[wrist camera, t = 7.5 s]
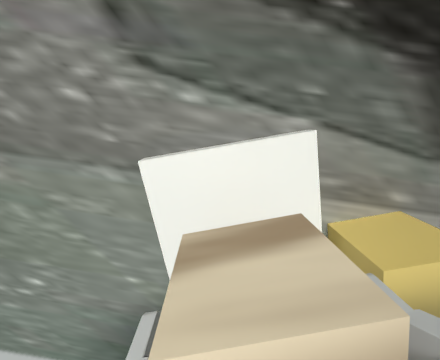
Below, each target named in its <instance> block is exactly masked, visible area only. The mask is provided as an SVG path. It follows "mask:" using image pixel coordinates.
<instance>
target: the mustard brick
mask: <svg viewBox="0 0 440 360" xmlns="http://www.w3.org/2000/svg"><path fill="white" fill-rule="evenodd" d="M328 239H329V240H330V241H331V242H332V243H333V244H334V245H335V246H336V247H337V248H338V249H339V250H341V251H342V252H343V253H344V254H345V255H346V256H347V257H348V258H349V259H350V260H351V261H352V262H353V263H354V264H355V265H356V266H357V267H358V268H360V269H361V270H362V271H363V272H364V273H365V274H367V273H372V274H374V275H375V276H376V277H377V278H378V279H380V280H381V281H382V282H383V283H384V284H385V285H386V286H387V287H389V288H390V289H391V290H392V291H393V292H394V293H395V294H396V295H398V296H399V297H400V298H401V299H402V300H403V301H404V302H405V303H407V304H408V305H409V306H410V307H411V308H412V309H413V310H416V309H420V310H422V311H424V312H427V313H429V314H431V315H434V316H436V317H438V318H440V229H438V228H436V227H434V226H431V225H429V224H427V223H425V222H423V221H420V220H418V219H416V218H414V217H412V216H409V215H407V214H405V213H403V212H401V211H399V212H393V213H387V214H381V215H375V216H369V217H364V218H358V219H352V220H346V221H340V222H335V223H329V224H328Z"/></svg>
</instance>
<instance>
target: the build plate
mask: <svg viewBox="0 0 440 360" xmlns="http://www.w3.org/2000/svg"><path fill="white" fill-rule="evenodd" d="M138 164H139V168H140V171H141V175H142V179H143V182H144V186H145V190H146V194H147V197H148V201H149V205H150V208H151V212H152V216H153V220H154V223H155V227H156V231H157V234H158V238H159V242H160V245H161V249H162V253H163V257H164V260H165V264H166V268H167V271H168V275H169V279H170V278H171V275H172V271H173V268H174V264H175V260H176V257H177V253H178V250H179V246H180V242H181V239H182V235H183V234H188V233H194V232H199V231H205V230H210V229H216V228H221V227H227V226H233V225H238V224H244V223H249V222H255V221H260V220H266V219H272V218H277V217H283V216H288V215H294V214H299V213H301V214H303V215H304V216H305V217H306V218H307V219H308V220H309V221H310V222H311V223H312V224H313V225H314V226H315V227H316V228H317V229H318V230H319V231H320V232H322V223H321V204H320V186H319V167H318V149H317V130H303V131H297V132H291V133H286V134H280V135H274V136H269V137H263V138H257V139H251V140H246V141H240V142H234V143H228V144H223V145H217V146H211V147H206V148H200V149H194V150H188V151H183V152H177V153H171V154H165V155H160V156H154V157H148V158H144V159H142V160H140V161H138Z"/></svg>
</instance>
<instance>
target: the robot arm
mask: <svg viewBox="0 0 440 360" xmlns="http://www.w3.org/2000/svg"><path fill="white" fill-rule="evenodd" d="M366 275H367V276H368V277H369V278H370V279H371V280H372V281H373V282H374V283H375V284H376V285H377V286H379V287H380V288H381V289H382V290H383V291H384V292H385V293H386V294H387V295H388V296H389V297H390V298H391V299H392V300H393V301H394V302H395V303H396V304H398V305H399V306H400V307H401V308H402V309H403V310H404V311H405V312H406V313H407V314H408V315H409V316H410V327H409V349H408V360H440V318H438V317H436V316H434V315H431V314H429V313H427V312H424V311H422V310H420V309H416V310H413V309H412V308H411V307H410V306H409V305H408V304H407V303H405V302H404V301H403V300H402V299H401V298H400V297H399V296H398V295H396V294H395V293H394V292H393V291H392V290H391V289H390V288H389V287H387V286H386V285H385V284H384V283H383V282H382V281H381V280H380V279H378V278H377V277H376V276H375V275H374V274H372V273H367V274H366ZM161 311H162V310H159V311H153V312H146V313H144V314H143V316H142V317H141V320H140V322H139V325H138V328H137V330H136V333H135V336H134V338H133V341H132V344H131V346H130V349H129V352H128V354H127V357H126V360H148V358H149V354H150V351H151V347H152V344H153V340H154V336H155V333H156V329H157V326H158V322H159V318H160V315H161Z"/></svg>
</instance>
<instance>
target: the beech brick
mask: <svg viewBox="0 0 440 360" xmlns="http://www.w3.org/2000/svg"><path fill="white" fill-rule="evenodd" d="M409 327H410V316H409V315H408V314H407V313H406V312H405V311H404V310H403V309H402V308H401V307H400V306H399V305H398V304H396V303H395V302H394V301H393V300H392V299H391V298H390V297H389V296H388V295H387V294H386V293H385V292H384V291H383V290H382V289H381V288H380V287H379V286H377V285H376V284H375V283H374V282H373V281H372V280H371V279H370V278H369V277H368V276H367V275H366V274H365V273H364V272H363V271H362V270H361V269H360V268H358V267H357V266H356V265H355V264H354V263H353V262H352V261H351V260H350V259H349V258H348V257H347V256H346V255H345V254H344V253H343V252H342V251H341V250H339V249H338V248H337V247H336V246H335V245H334V244H333V243H332V242H331V241H330V240H329V239H328V238H327V237H326V236H325V235H324V234H323V233H322V232H320V231H319V230H318V229H317V228H316V227H315V226H314V225H313V224H312V223H311V222H310V221H309V220H308V219H307V218H306V217H305V216H304V215H303V214H301V213H299V214H294V215H288V216H283V217H277V218H272V219H266V220H260V221H255V222H249V223H244V224H238V225H233V226H227V227H221V228H216V229H210V230H205V231H199V232H194V233H188V234H183V235H182V239H181V242H180V246H179V250H178V253H177V257H176V260H175V264H174V268H173V271H172V275H171V278H170V282H169V286H168V289H167V293H166V297H165V300H164V304H163V307H162V311H161V315H160V318H159V322H158V326H157V329H156V333H155V336H154V340H153V344H152V347H151V351H150V354H149V358H148V360H408V349H409Z"/></svg>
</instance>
